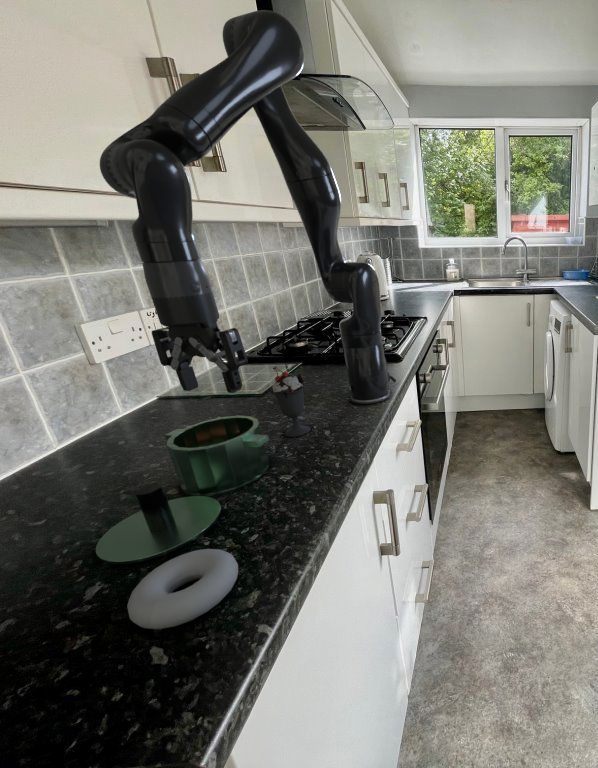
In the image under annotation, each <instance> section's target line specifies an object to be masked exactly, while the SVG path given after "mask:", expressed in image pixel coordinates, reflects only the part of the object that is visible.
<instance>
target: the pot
mask: <svg viewBox="0 0 598 768" xmlns="http://www.w3.org/2000/svg"><path fill="white" fill-rule="evenodd" d="M164 437H165V439H166V449H167V451H168V454H169V456H170V460H171V462H172V466H173V468H174V471H175V474H176V476H177V479H178V482H179V485H180V488H181V489H182V491H183V492H184V493H185V495H188V496H206V497H215V496H220V495H224V494H225V495H226V494H229V493H232V492H235V491H237V490H240V489H242V488H244V487H247V486H249V485H251V484H252V483H255V482H256V481H258V480H259V479H261V478H262V477H263V476H264V475H265V474H266V473H267V471H268V470H269V468H270V461H269V457H268V454H267V450H266V446H265V444H266V443H268V442H269V441H270V438H269V435H268V434H267V435H266V434H262V431H261V426H260V423H259V419H258V418H256V417H254V416H249V415H231V416H230V415H229V416H221V417H217V418H212V419H208V420H204V421H200V422H198V423H195V424H191V425H189V426H187V427H184V428H176V429H174V430H172V431H169V432H168V433H166V434H164Z"/></svg>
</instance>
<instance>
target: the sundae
mask: <svg viewBox="0 0 598 768" xmlns="http://www.w3.org/2000/svg"><path fill="white" fill-rule="evenodd" d="M272 369H273V370H275V372H276V377H274V380H275V382H274V383H273V385H272V387H270V388H269V393H270V394H271V395H274V396H275V398H276V401H277V404H278V405H279V408H280V411H281V412H282V414H283V415H285V416H286V417H288V418H291V420H292V427H291V428H289V429H287V430H286V431H285V433H284V435H285V436H287V437H288V438H289V437H290V438H295V437H300V436H303V435H306V434H308V433H310V431H311V429H312V428H311V427H310V426H308V425H301V423H300V419H299V416H300V415H301V414H302V413H303V411H304V410H305V398H304V397H305V396H304V388H305V387H306V385H307V383H305V382H304V381H305V379H304V376H303V375H302V373H299V374H298V375H297V376H296V375H294V374H292V373H288V372H287V371H282V370H280V369H279V368H278V367H277V366H274V367H272ZM278 371H279V372H281V375H279V372H278Z"/></svg>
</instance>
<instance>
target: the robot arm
mask: <svg viewBox="0 0 598 768" xmlns="http://www.w3.org/2000/svg"><path fill="white" fill-rule="evenodd" d="M222 27H223V28H222V42H223V46H224V49H225V53H226V55H227V57H226V58H225V59H223V60H221V61H220V62H219V63H217V64H216V65H214V66H212V67H210V68H209V69H207V70H206V71H204V72H202V73H200V74H199V75H197V76H195V77H194V78H192V79H190V80H189V81H187V82H186V83H184V84H183V85H182V86H180V87H179V88H178V89H176V90H175V92H173V93H172V94H171V95H170V96H168V98H167V99H166V100H164V101H163V102H162V103H161V104H160V105H159V106H158V107H157V108H156V109H155V110H154V112H153V113H152V114H151V115H150V116H148V117H147V118H146V119H145V120H143V121H142V122H140V123H139V124H137V125H135V126H134V127H132V128H131V129H128V131H126V132H124V133H123V134H122V135H120V136H119V137H117V138H116V139H115V140H113V141H112V142H111V143H109V144H108V145H107V147H105V149H104V150H103V151H102V153H101V155H100V158H99V170H100V173H101V176H102V178H103V179H104V181H105V182H106V183H107V185H108V186H109V187H110V188H111V189H113V190H114V191H115V192H117V193H118V194H120V195H122V196H124V197H126V198H129V199H134V200H136V207H137V212H138V217H137V218H136V219H135V220H134V221H133V222H132V224H131V233H132V238H133V241H134V243H135V247H136V250H137V252H138V255H139V259H140V261H141V265H142V269H143V275H144V280H145V283H146V286H147V289H148V292H149V294H150V295H149V296H150V297H151V300H152V303H153V306H154V310H155V312H156V315H157V318H158V321H159V324H160V325H161V326H163V327H161V328H156V329H154V330H151V336H152V339H153V343H154V346H155V349H156V353H157V356H158V359H159V363H160V364H161V365H162V366H163V367H166V366H167V367H170V368H171V369H172V370H173V371H175V372H176V376H177V378H178V381H179V384H180V385H181V388H182V390H183V391H185V392H190V391H192V390H193V391H194V390H195V389H198V387H199V383H198V380H197V377H196V373H195V370H194V367H193V366H192V365H191V364H192V361H193V359H194V357H199V358H206V360H208V361H209V362H211V363H214V364H215V365H216V366H217V367H218V368H219V369H220V371H221V375H222V379H223V381H224V385H225V388H226V391H227V393H229V394H234V393H236V392H238V391H239V392H240V391H241V390H242V387H243V382H242V381H243V380H242V378H241V375H240V371H239V370H240V369H239V368H240V367H243V366H244V365H246V364H248V363H249V360H248V357H247V353H246V350H245V348H244V344H243V341H242V338H241V335H240V332H239V330H238V328H236V327H232V328H228V329H221V328H220V327H219V324H218V320H219V319H220V313H219V308H218V305H217V302H216V299H215V295H214V291H213V288H212V285H211V281H210V278H209V275H208V272H207V270H206V267H205V265H204V263H203V260H202V257H201V253H200V250H199V247H198V242H197V239H196V237H195V234H194V231H193V230H194V229H193V221H194V220H193V219H194V217H193V216H194V215H193V196H192V195H193V194H192V187H191V182H190V178H189V175H188V172H187V170H186V168H185V167H186V166H187V165H189V164H191V163H194V162H197V161H199V160H201V159H203V158H204V157H206V156H207V155H208V154H209V153H211V151H212V150H213V149H214V148H215V147H216V146H217V145H218V143H219V142H221V140H222V139H223V138H224V137H225V136H226V135H227V134H228V132H229V131H230V130H232V128H233V127H234V126H235V125H236V124H237V123H238V122H239V121H240V120H241V119H242V118H243V117H244V116H245V115H246V114H247V113H248V112H249V111H250V110H252V109H253V111H254V113H255V114H256V116H257V118H258V121H259V123H260V125H261V127H262V129H263V132H264V134H265V136H266V139H267V141H268V144H269V146H270V148H271V150H272V152H273V155H274V157H275V159H276V162H277V164H278V166H279V169H280V172H281V174H282V177H283V181H284V183H285V185H286V188H287V190H288V192H289V194H290V197H291V200H292V201H293V204H294V206H295V208H296V211H297V212H298V215H299V217H300V220H301V223H302V225H303V228H304V231H305V233H306V236H307V238H308V241H309V244H310V246H311V249H312V253H313V256H314V259H315V262H316V266H317V269H318V272H319V276H320V279H321V282H322V284H323V287H324V289H325V292H326V293H327V295H328V296H329V297H330V298H331V299H332V300H333V301H334V302H337V303H342V304H343V303H344V304H352V314H351V315H350V316H349V317H345V318H343V319H341V320H340V321H339V323H338V324H339V327H338V328H339V332H340V338H341V339H340V340H341V345H342V350H343V356H344V357H343V358H344V362H345V369H346V374H347V380H348V383H347V388H348V389H349V392H350V401H351V402H352V403H354V404H356V405H372V404H373V405H374V404H378V403H380V402H381V403H382V402H383V401H386V400H387V399H389V398H390V397H391V388H390V382H391V381H392V382H393V383H396V382H397V379H396V378H395V377H393V376H392V375H390V372H389V371H388V367H387V359H386V357H385V350H384V349H385V348H384V343H383V337H382V336H383V335H382V328H381V322H382V303H381V290H380V289H381V288H380V282H379V276H378V274H377V271H376V270H375V268H374V267H373V265H372V264H370V263H368V262H364V261H363V262H362V261H346V259H345V258H344V256H343V252H342V250H341V247H340V244H339V238H338V229H339V223H340V217H341V213H342V212H341V211H342V196H341V192H340V189H339V186H338V183H337V182H338V181H337V180H336V177H335V174H334V172H333V168H332V166H331V163H330V162H329V160H328V158H327V157H326V155H325V154H324V152H323V150H321V148H320V147H319V146H318V144H316V142H315V141H314V140H313V139H312V137H311V136H310V135H309V134H308V132H307V131H306V130H305V129H304V128H303V126H302V125H301V124H300V123H299V121H298V120H297V118H296V116H295V114H294V113H293V111H292V109H291V107H290V104H289V102H288V100H287V97H286V94H285V92H284V89H283V87H282V86H283V85H284V84H286V83H288V82H290V81H291V80H293V79H295V78H296V77H298V76H299V75H300V74H301V72H302V71H303V68H304V65H305V49H304V46H303V42H302V40H301V37H300V35H299V33H298V31H297V30H296V29H295V27H294V26H293V24H292V23H291V22H290V21H289V20H288V19H287V18H286V17H285V16H284V15H282V14H280V13H279V12H276V11H273V10H268V9H260V10H255V11H251V12H247V13H243V14H240V15H237V16H234V17H232V18H229V19H228V20H227V21H226V22H224V24H223V26H222ZM218 350H219V352H218ZM168 351H169V355H170V356H168V353H167V352H168Z"/></svg>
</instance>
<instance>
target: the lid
mask: <svg viewBox="0 0 598 768" xmlns="http://www.w3.org/2000/svg"><path fill="white" fill-rule="evenodd" d="M134 495H135V498H136V501H137V503H138V505H139V507H140V510H139V511H137V512H135V513H132V514H131V515H129V516H127V517H126V518H123V519H122V520H120V521H119V522H117V523H116V524H114V525H113V526H112V527H110V528H109V530H108V531H106V532H105V533H104V534H103V535H102V536H101V537H100V539H99V540H98V542H97V543H96V546H95V555H96V556H97V558H98V559H99V561H101V562H103V563H105V564H110V565H130V564H136V563H140V562H144V561H149V560H153V559H156V558H159V557H161V556H165V555H166V554H169V553H172V552H174V551H176V550H178V549H181V548H182V547H184V546H186V545H188V544H190V543H192V542H193V541H195V540H197V539H199V538H200V537H201V536H202V535H204V534H205V533H207V532H208V531H209V530H210V529H211V528H212V527H213V526H214V525H215V524H216V523H217V521H218V520H219V518H220V517H221V513H222V505H221V504H220V502H219V501H218V500H217V499H215V498H213V497H212V496H207V497H206V496H191V495H189V496H184V497H179V498H173V499H169V500H168V498H167V494H166V493H165V489H164V487H163V484H162V483H160V482H152V483H148V484H145V485H142V486H141V487H139V488H137V489H136V490H135V491H134Z"/></svg>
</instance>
